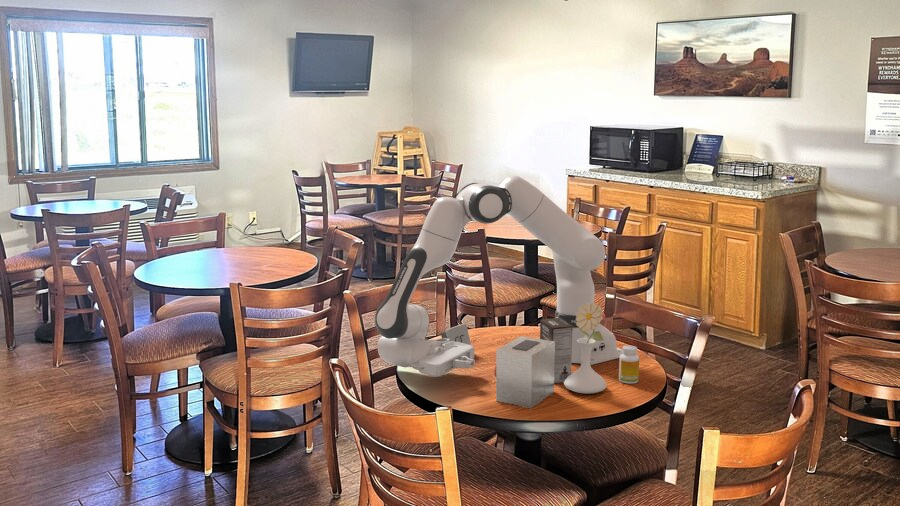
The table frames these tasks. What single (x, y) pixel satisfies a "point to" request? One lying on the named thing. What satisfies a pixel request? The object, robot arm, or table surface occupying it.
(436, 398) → the table surface
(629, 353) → the supplement bottle
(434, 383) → the table surface
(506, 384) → the box
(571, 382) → the flower in vase
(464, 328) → the electrical switch
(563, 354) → the coffee box
